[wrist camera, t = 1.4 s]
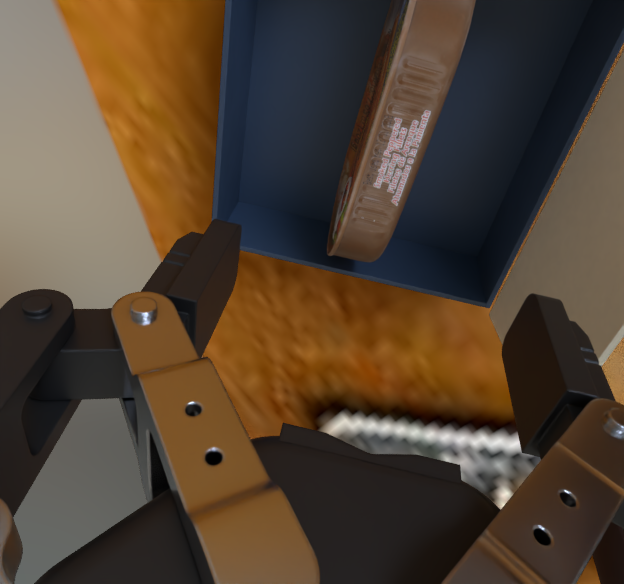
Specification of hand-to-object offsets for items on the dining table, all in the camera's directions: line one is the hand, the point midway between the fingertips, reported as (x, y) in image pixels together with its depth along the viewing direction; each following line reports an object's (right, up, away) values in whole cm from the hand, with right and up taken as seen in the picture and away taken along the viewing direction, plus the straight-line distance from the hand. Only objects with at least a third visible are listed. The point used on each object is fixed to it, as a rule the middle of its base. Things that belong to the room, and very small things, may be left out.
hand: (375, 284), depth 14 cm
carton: (+3, +11, +14) cm, 18 cm away
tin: (+3, +11, +14) cm, 18 cm away
